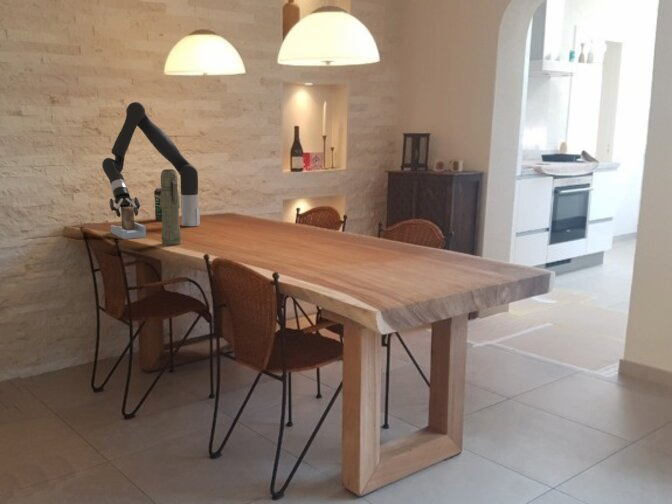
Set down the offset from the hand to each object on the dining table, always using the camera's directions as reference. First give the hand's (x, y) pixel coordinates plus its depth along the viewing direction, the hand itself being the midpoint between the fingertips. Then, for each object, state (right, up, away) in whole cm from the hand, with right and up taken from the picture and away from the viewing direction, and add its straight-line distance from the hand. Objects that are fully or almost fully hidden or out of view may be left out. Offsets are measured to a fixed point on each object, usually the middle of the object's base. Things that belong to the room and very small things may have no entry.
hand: (128, 215), depth 340 cm
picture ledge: (-1, -10, +3) cm, 10 cm away
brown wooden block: (-1, -7, +3) cm, 7 cm away
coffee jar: (+4, 0, +53) cm, 53 cm away
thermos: (+27, -15, -20) cm, 36 cm away
